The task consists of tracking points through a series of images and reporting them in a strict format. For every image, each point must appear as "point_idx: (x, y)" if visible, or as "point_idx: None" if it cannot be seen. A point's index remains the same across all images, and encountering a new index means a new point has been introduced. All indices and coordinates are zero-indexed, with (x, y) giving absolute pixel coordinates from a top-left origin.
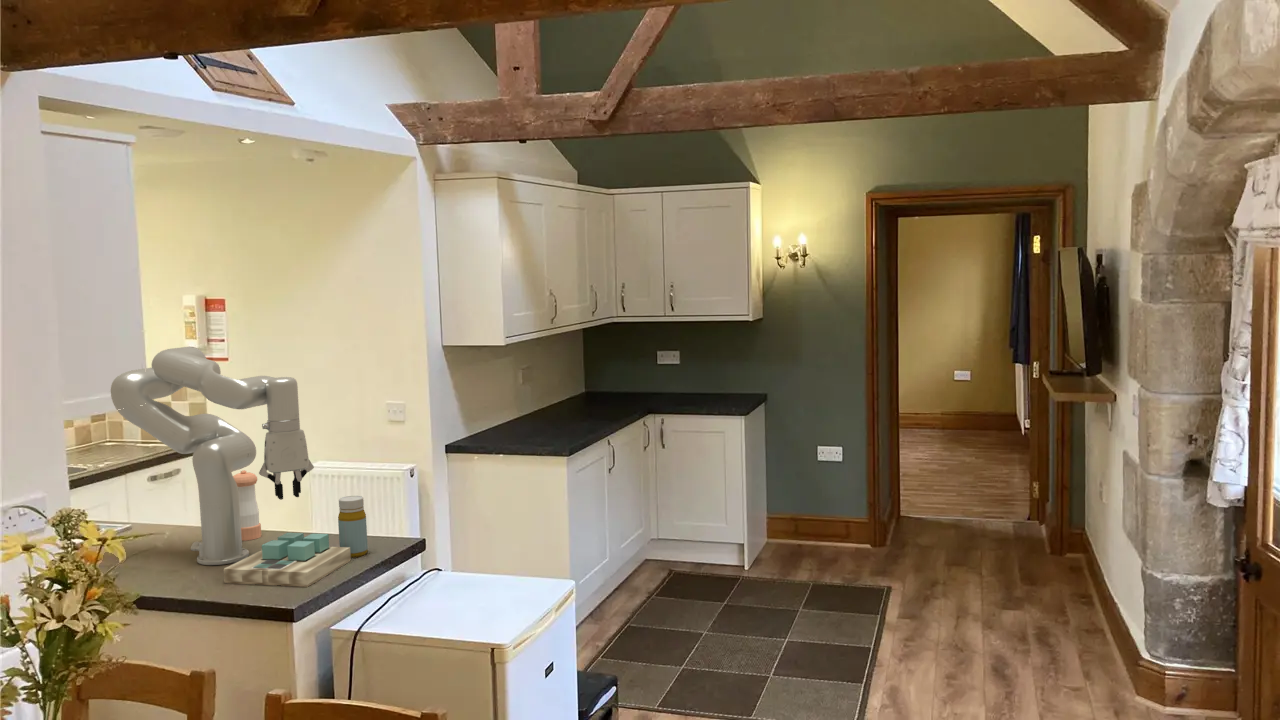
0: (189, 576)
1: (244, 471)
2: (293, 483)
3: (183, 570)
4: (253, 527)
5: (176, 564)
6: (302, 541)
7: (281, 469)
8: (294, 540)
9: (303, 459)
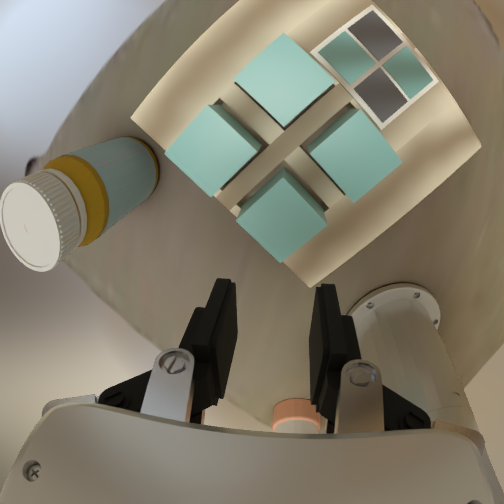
0: (484, 247)
1: None
2: (223, 374)
3: (470, 294)
4: (291, 417)
5: (456, 336)
6: (269, 106)
7: (361, 458)
8: (281, 176)
9: (45, 486)
